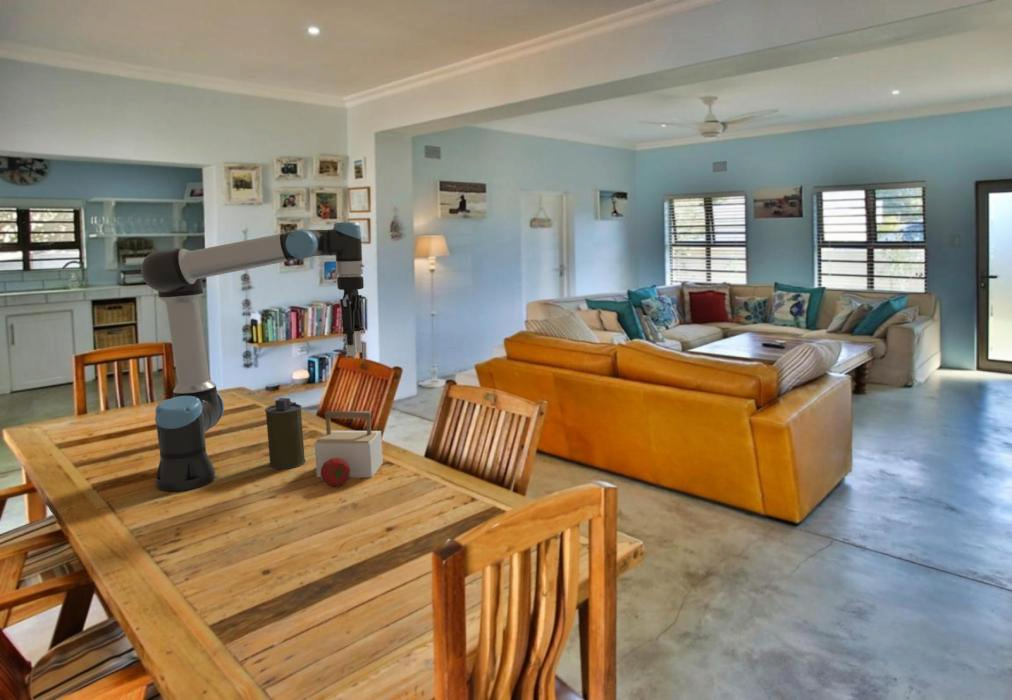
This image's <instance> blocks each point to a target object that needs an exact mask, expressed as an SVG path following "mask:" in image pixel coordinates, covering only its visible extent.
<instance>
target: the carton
mask: <svg viewBox="0 0 1012 700" xmlns="http://www.w3.org/2000/svg"><path fill="white" fill-rule="evenodd" d="M331 432H356V433H367V430H331ZM371 433H376V435H375V436H374V437H373V438H372V440H371V441H370V442H369V443H316V441H315V442H314V450H315V451H314V452H315V453H314V455H315V468H316V477H321V468H322V466H323V464H324V463H325V462H326V461H328V460H329V459H332V458H341V459H343V460H345V461H346V462H347V463H348V466H349V469H350V474H349V477H348V478H373V477H374V475H375V474H376V472H377V471H378V470H379V468H380V467H381V466H382V464H384V462H383V441H382V440H383V437H382V430H371ZM321 478H322V477H321Z"/></svg>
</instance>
